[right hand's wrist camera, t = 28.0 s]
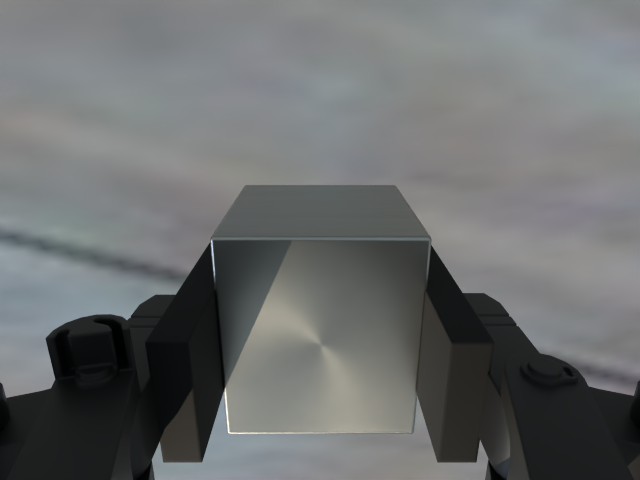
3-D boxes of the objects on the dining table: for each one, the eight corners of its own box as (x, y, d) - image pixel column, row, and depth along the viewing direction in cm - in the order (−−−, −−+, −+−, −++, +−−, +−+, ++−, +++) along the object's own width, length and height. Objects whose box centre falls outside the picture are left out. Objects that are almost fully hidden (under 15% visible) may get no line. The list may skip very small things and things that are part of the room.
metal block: (387, 332, 16) (414, 435, 11) (253, 332, 16) (226, 435, 11) (396, 184, 14) (432, 237, 9) (244, 184, 14) (209, 237, 9)
